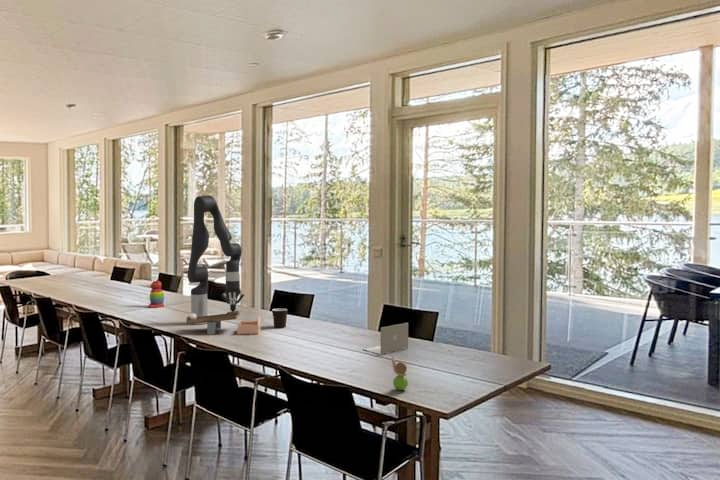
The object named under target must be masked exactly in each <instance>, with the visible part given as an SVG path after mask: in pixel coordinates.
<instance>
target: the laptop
mask: <svg viewBox="0 0 720 480" xmlns="http://www.w3.org/2000/svg"><path fill="white" fill-rule="evenodd" d="M364 349H365V350H369V351H371V352H372V350H373V352H374V353H373V354H375V352H377V353H378V354H377V355H379V354H383V355H385V354H384V353H387V354H389V353H388V352H392V353H394V352H393V351H396V352H399V351H398V350H401V351H404V350H403V349H405V350H408V349H409V322H403V323H398V324H392V325H388V326H382V327H380V345H377V346H372V347H367V348H364ZM365 350H364V351H365ZM371 352H370V353H371Z"/></svg>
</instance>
